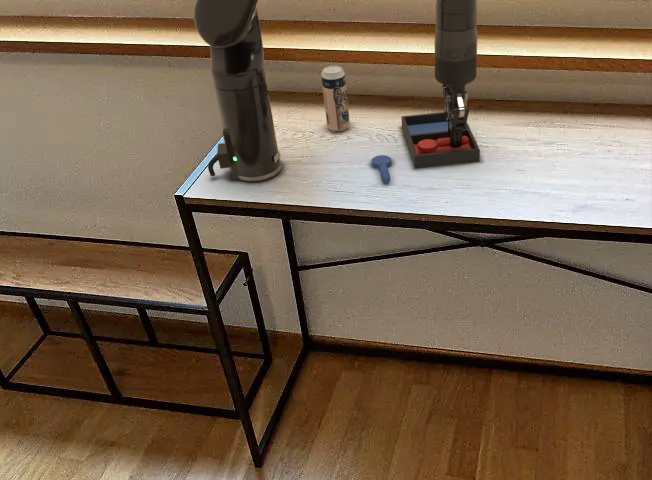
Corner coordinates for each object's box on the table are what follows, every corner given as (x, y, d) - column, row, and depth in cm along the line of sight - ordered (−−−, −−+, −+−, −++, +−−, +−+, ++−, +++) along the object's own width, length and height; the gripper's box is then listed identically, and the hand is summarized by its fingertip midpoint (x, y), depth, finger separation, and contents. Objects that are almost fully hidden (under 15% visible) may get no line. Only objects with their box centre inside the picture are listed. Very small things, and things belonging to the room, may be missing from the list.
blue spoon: (396, 183, 131) (396, 175, 130) (376, 185, 131) (376, 177, 129) (390, 158, 138) (389, 150, 137) (370, 160, 138) (370, 152, 136)
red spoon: (466, 139, 139) (466, 131, 137) (470, 148, 136) (470, 140, 135) (416, 144, 138) (416, 136, 137) (419, 153, 135) (419, 145, 134)
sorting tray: (414, 168, 134) (414, 156, 133) (401, 127, 147) (401, 116, 145) (479, 161, 135) (480, 149, 134) (461, 121, 148) (461, 110, 146)
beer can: (345, 133, 146) (339, 75, 138) (323, 131, 147) (316, 73, 139) (353, 123, 149) (348, 65, 141) (332, 121, 151) (326, 63, 142)
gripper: (485, 64, 120) (481, 158, 132) (468, 36, 130) (466, 126, 142) (441, 68, 120) (442, 163, 132) (428, 40, 129) (429, 130, 142)
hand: (454, 143), depth 137 cm, fingers closed on red spoon, 1 cm apart
